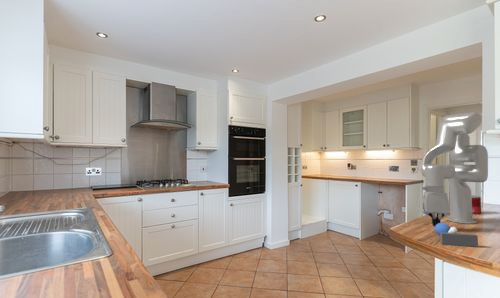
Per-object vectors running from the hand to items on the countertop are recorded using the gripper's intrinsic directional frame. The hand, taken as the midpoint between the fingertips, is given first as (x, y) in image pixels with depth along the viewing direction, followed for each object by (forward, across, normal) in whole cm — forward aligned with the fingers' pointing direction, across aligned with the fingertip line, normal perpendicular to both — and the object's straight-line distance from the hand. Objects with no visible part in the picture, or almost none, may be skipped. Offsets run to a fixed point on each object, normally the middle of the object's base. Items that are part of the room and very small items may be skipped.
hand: (436, 226), depth 125 cm
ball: (-2, -1, -11) cm, 12 cm away
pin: (0, 0, -15) cm, 15 cm away
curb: (+2, 0, -23) cm, 23 cm away
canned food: (+2, +36, +49) cm, 60 cm away
